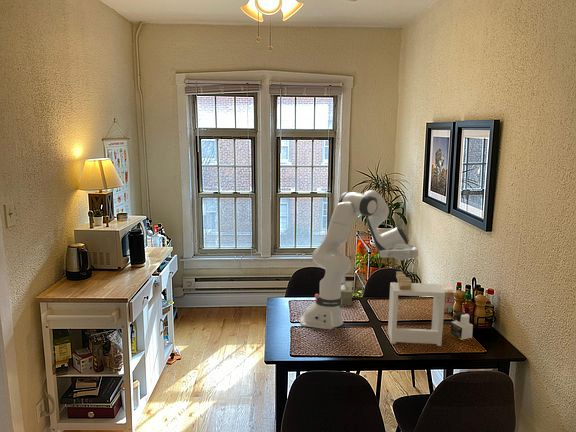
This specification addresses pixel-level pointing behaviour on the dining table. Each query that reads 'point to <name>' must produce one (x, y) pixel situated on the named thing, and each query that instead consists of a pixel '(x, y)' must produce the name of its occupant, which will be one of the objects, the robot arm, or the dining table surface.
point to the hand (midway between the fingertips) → (396, 254)
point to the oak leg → (403, 281)
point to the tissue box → (346, 292)
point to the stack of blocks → (448, 297)
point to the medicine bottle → (461, 326)
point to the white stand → (417, 334)
